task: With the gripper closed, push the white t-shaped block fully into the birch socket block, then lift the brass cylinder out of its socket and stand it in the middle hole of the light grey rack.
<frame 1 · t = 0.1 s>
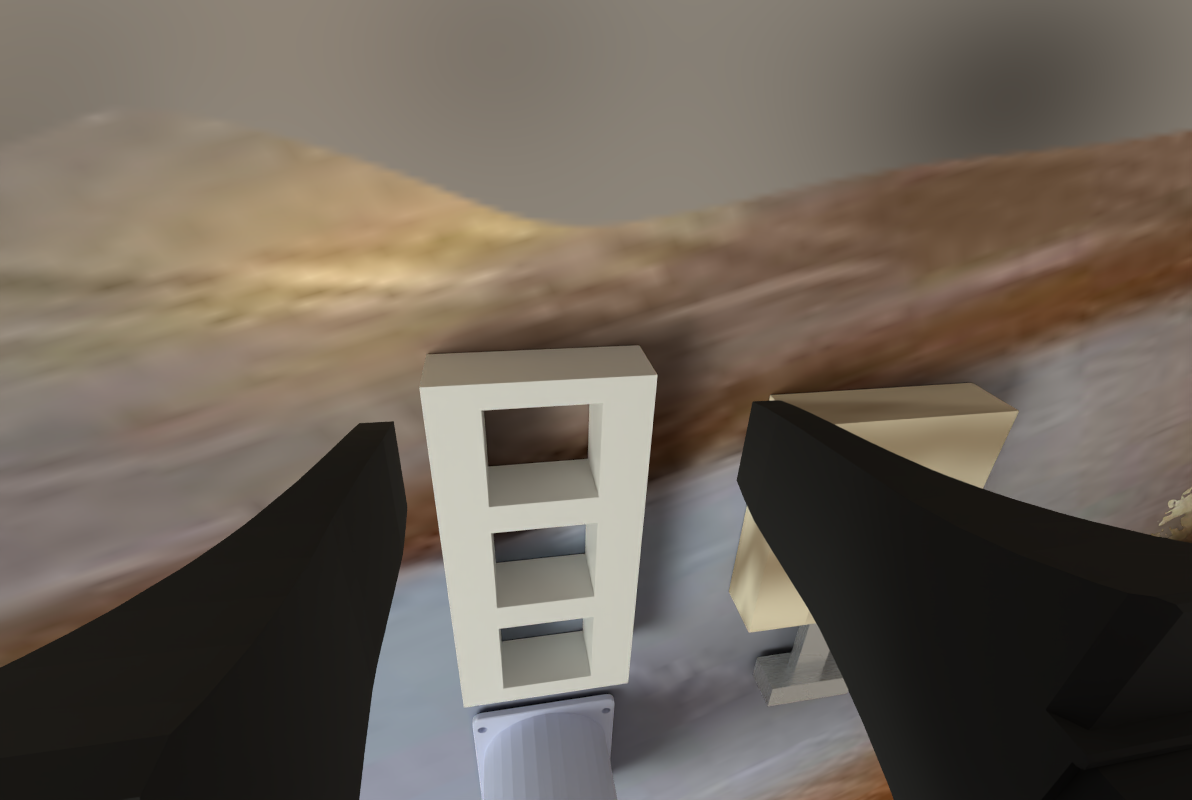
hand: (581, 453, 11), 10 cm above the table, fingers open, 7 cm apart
rack: (540, 524, 25), on the table
white t-shaped block: (813, 641, 31), point 1 cm above the table, slide at 0.0 cm
socket block: (841, 494, 28), on the table
pie: (1151, 605, 40), on the table
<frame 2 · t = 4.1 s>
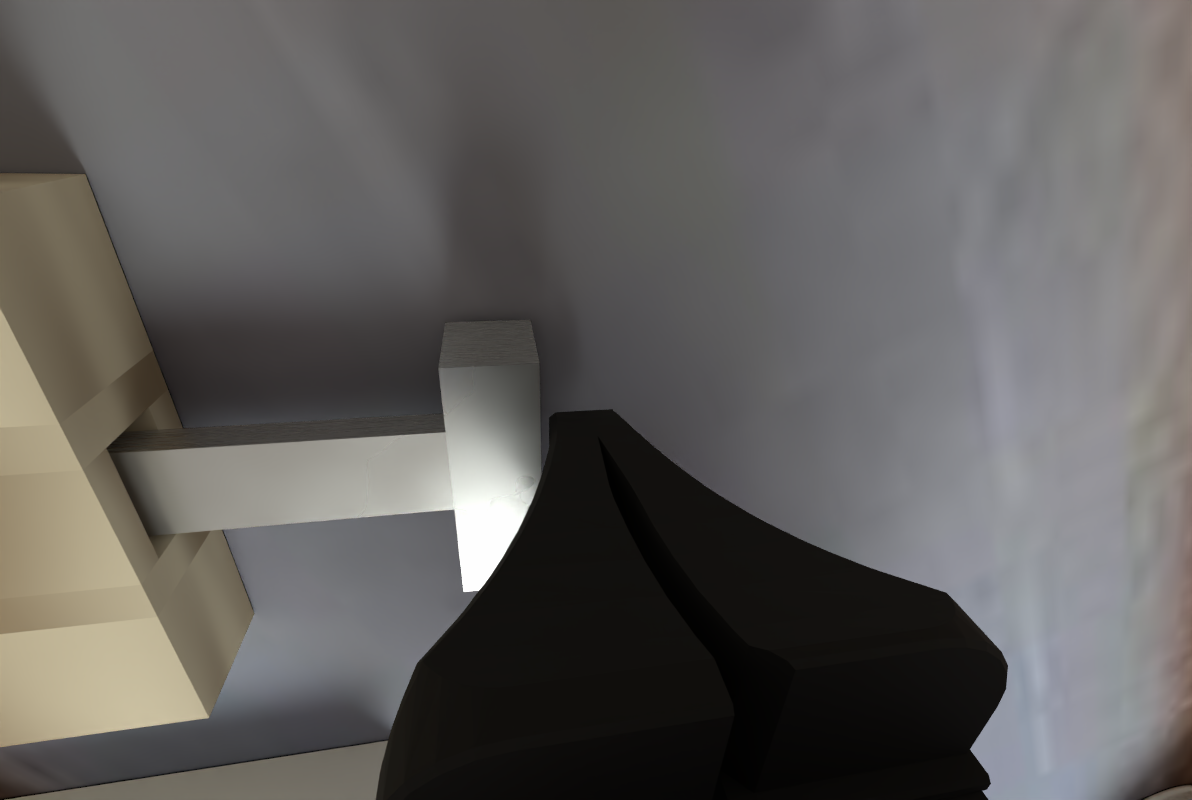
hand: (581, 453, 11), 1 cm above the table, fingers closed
white t-shaped block: (335, 470, 10), point 1 cm above the table, slide at 0.3 cm, touching gripper
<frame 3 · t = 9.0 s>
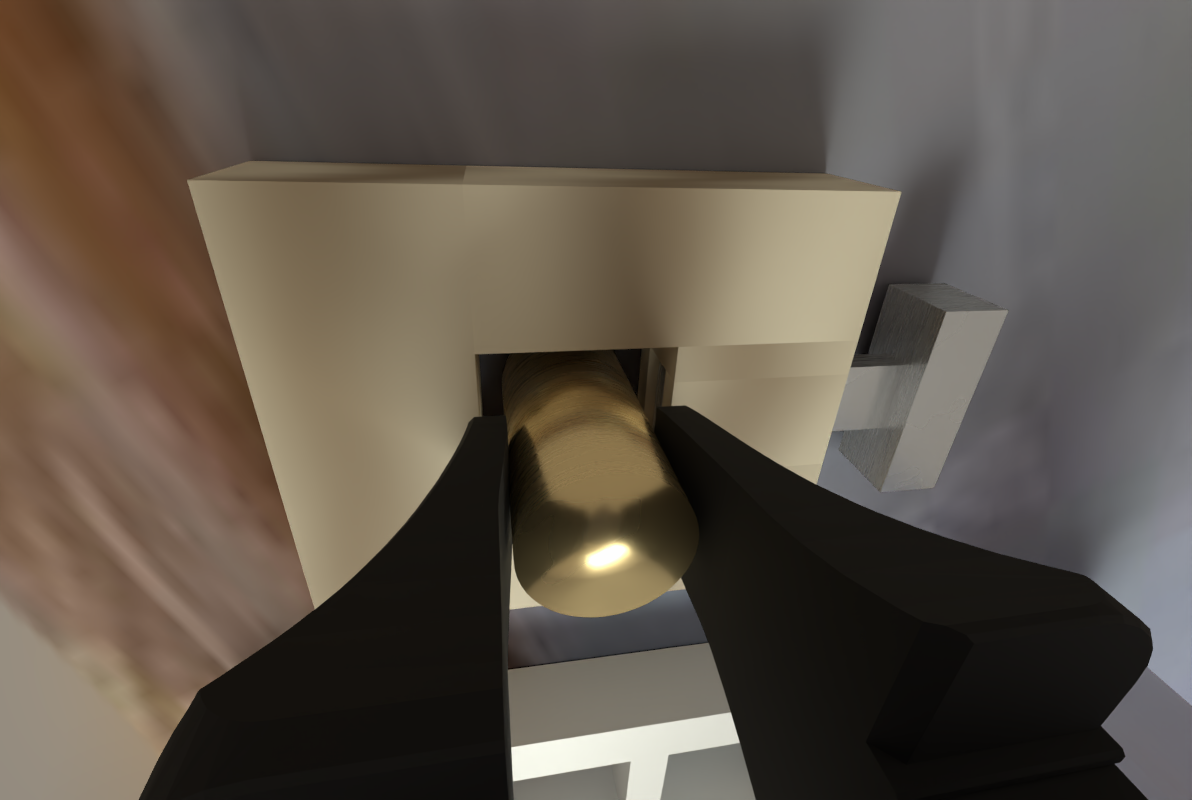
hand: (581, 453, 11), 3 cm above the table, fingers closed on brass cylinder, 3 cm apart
brass cylinder: (562, 381, 14), resting in socket block, touching gripper
rack: (558, 730, 21), on the table
white t-shaped block: (806, 395, 14), point 1 cm above the table, slide at 3.3 cm
socket block: (562, 381, 14), on the table
when the fingers open (5 cm above the table, at t = 12.6 s): brass cylinder drops 1 cm, resting in rack.
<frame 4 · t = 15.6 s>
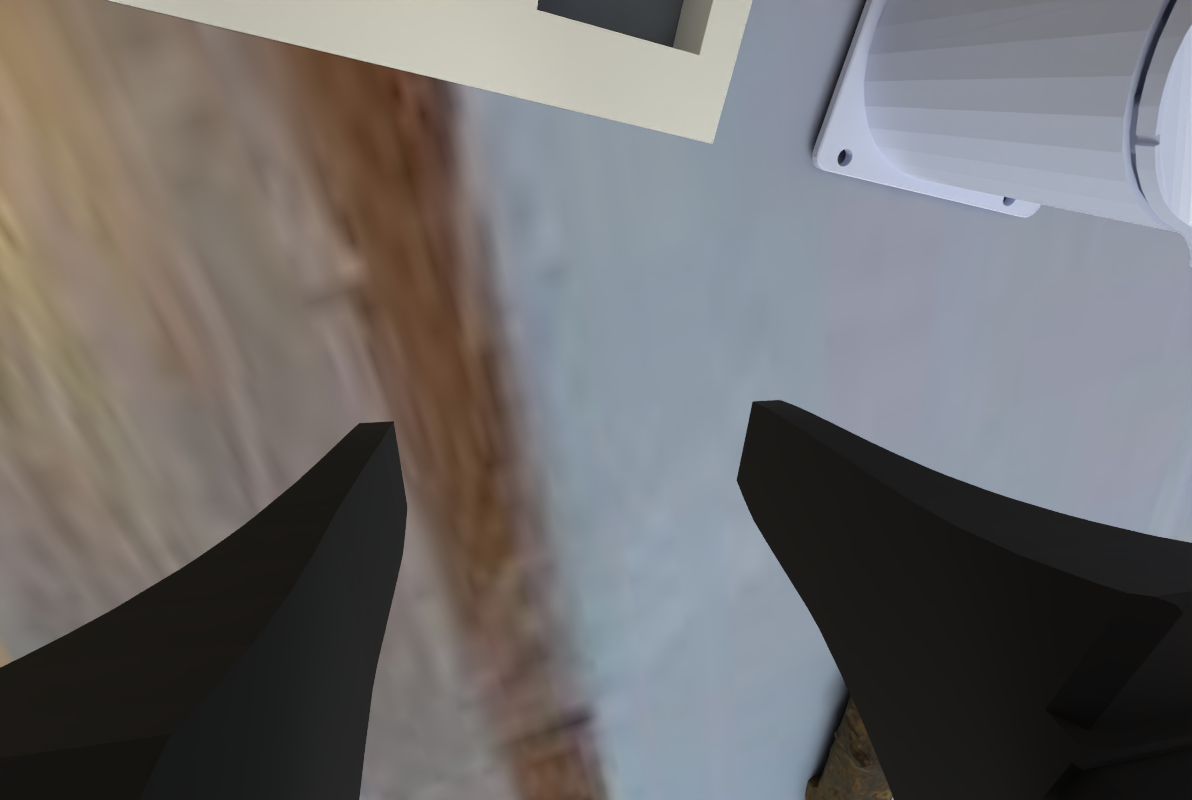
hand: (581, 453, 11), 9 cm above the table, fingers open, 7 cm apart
hand tool: (846, 731, 39), on the table
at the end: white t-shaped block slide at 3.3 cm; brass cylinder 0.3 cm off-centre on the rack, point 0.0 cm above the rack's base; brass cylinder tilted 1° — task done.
